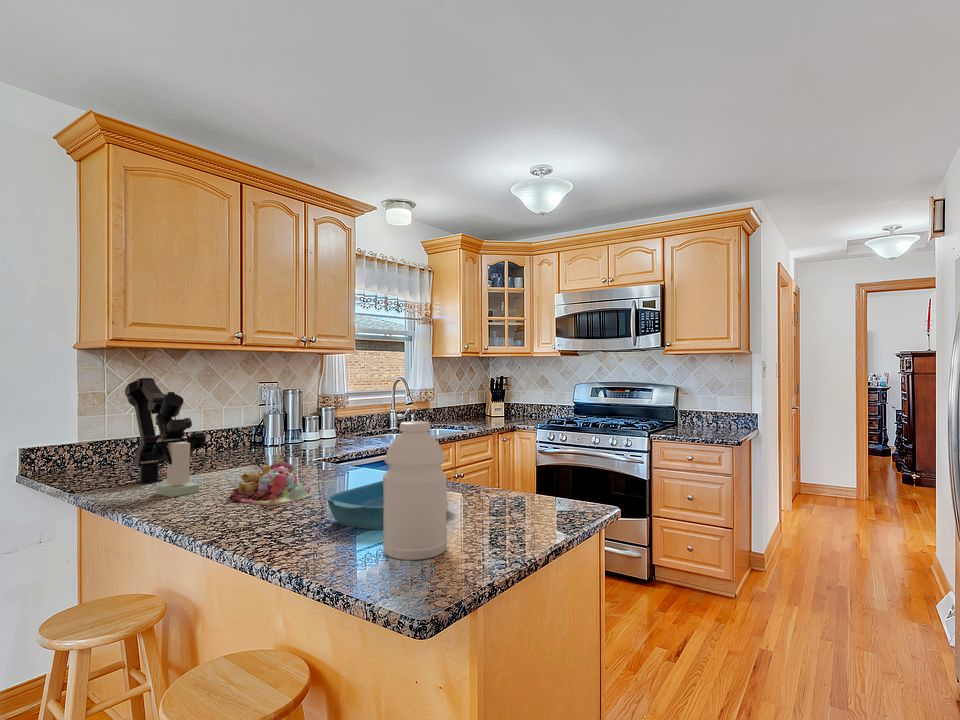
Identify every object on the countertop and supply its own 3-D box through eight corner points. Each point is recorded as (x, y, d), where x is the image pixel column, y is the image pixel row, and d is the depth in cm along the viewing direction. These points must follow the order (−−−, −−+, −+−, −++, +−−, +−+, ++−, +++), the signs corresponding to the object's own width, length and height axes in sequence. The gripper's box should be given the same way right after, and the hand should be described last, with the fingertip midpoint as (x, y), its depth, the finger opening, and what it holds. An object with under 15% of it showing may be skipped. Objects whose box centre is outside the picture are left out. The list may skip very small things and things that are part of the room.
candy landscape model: (213, 502, 165) (214, 471, 166) (265, 486, 188) (265, 460, 188) (283, 507, 158) (283, 475, 158) (328, 491, 181) (328, 463, 181)
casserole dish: (377, 539, 127) (377, 509, 127) (309, 526, 138) (309, 498, 138) (460, 506, 159) (460, 481, 159) (399, 497, 170) (399, 474, 170)
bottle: (447, 540, 126) (447, 419, 127) (446, 560, 112) (446, 425, 113) (387, 540, 125) (387, 419, 126) (377, 561, 112) (378, 425, 112)
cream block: (166, 482, 176) (168, 442, 177) (183, 480, 180) (184, 441, 180) (172, 485, 173) (173, 444, 173) (188, 483, 177) (190, 443, 177)
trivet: (156, 493, 175) (156, 486, 175) (184, 488, 183) (184, 481, 183) (170, 497, 170) (171, 489, 170) (199, 492, 178) (199, 484, 178)
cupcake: (287, 484, 190) (288, 449, 191) (263, 484, 190) (264, 449, 191) (296, 479, 199) (296, 446, 199) (273, 479, 199) (273, 446, 199)
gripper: (142, 411, 173) (154, 449, 165) (204, 408, 187) (217, 443, 179) (134, 434, 178) (145, 472, 170) (194, 430, 192) (207, 465, 184)
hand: (180, 462), depth 176 cm, fingers closed on cream block, 5 cm apart
